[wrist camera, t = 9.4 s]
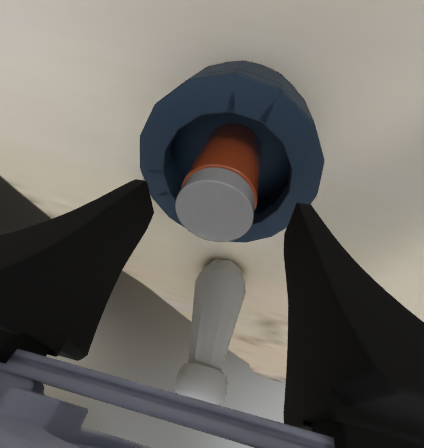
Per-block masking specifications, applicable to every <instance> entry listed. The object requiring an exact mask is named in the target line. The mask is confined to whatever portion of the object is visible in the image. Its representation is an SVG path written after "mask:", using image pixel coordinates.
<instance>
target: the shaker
mask: <svg viewBox="0 0 424 448" xmlns="http://www.w3.org/2000/svg"><path fill="white" fill-rule="evenodd" d="M260 162H261V144H260V141H259V139H258V137H257V135H256V134H255V133H254V132H253V130H251V129H250V128H249V127H247V126H245V125H243V124H239V123H226V124H223V125H220V126H218V127H217V128H215V129H214V130H213V131H212V132H211V133H210V135H209V136H208V138H207V140H206V142H205V143H204V145H203V147H202V149H201V150H200V152H199V154H198V156H197V158H196V159H195V161H194V163H193V165H192V166H191V168H190V170H189V172H188V173H187V175H186V177H185V179H184V181H183V183H182V186H181V190H180V192H179V194H178V196H177V198H176V203H175V208H176V213H177V216H178V218H179V220H180V222H181V223H182V225H183V226H184V227H185V228H186V229H187V230H188V231H190V232H191V233H193V234H194V235H196V236H198V237H200V238H203V239H205V240H209V241H215V242H227V241H232V240H235V239H237V238H239V237H241V236H243V235H244V234H245V233H246V232H247V231H248V230H249V229H250V227H251V225H252V223H253V219H254V211H255V209H256V206H257V197H258V186H259V174H260Z"/></svg>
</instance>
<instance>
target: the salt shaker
mask: <svg viewBox="0 0 424 448" xmlns="http://www.w3.org/2000/svg"><path fill="white" fill-rule="evenodd" d="M245 293H246V291H245V280H244V277H243V274H242V271H241V268H240V267H238V266H237V265H236V264H235V263H233V262H232V261H231V260H224V259H214V260H213V261H212V262H211V263H210V264H208V265H207V266H206V267H205V268H204V269H203V270H202V271H201V272H200V274H199V275H198V277H197V279H196V281H195V292H194V303H193V314H192V325H191V336H190V346H189V358H188V363H187V364H184V365H182V366H181V368H180V369H179V372H178V375H177V378H176V384H175V390H176V392H177V394H180V395H184V396H187V397H191V398H195V399H198V400H202V401H205V402H209V403H212V404H216V405H219V406H221V405H222V404H223V403H224V401H225V397H226V393H227V384H228V382H227V377H226V375H225V374H224V373H223V372H222V371H221V370H222V366H223V363H224V359H225V356H226V353H227V350H228V347H229V343H230V340H231V337H232V334H233V331H234V328H235V324H236V321H237V318H238V315H239V312H240V308H241V305H242V302H243V299H244V296H245Z"/></svg>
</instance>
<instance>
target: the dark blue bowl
mask: <svg viewBox="0 0 424 448" xmlns="http://www.w3.org/2000/svg"><path fill="white" fill-rule="evenodd" d="M226 123H239V124H243V125H245V126H247V127H249V128H250V129H251V130H253V132H254V133H255V134H256V135H257V137H258V139H259V141H260V144H261V162H260V174H259V186H258V197H257V206H256V209H255V211H254V219H253V223H252V225H251V227H250V229H249V230H248V231H247V232H246V233H245V234H244V235H243V236H241V237H239V238H237V239H235V240H232V241H229V242H250V241H254V240H259V239H263V238H267V237H272V235H275V234H277V233H278V232H280V231H282V230H283V229H285V228H287V226H288V224H289V221H290V218H291V216H292V213H293V211H294V208H295V205H296V203H303V204H311V203H312V201H313V200H314V199H315V197H316V195H317V193H318V188H319V184H320V179H321V175H322V170H323V166H324V157H323V153H322V149H321V146H320V142H319V138H318V135H317V131H316V127H315V124H314V121H313V119H312V117H311V114H310V112H309V109H308V107H307V105H306V102H305V100H304V99H303V98H302V96H301V95H300V94H299V93H298V92H297V91H296V89H295V88H294V87H293V85H292V84H291V83H290V82H289V81H288V80H286V79H285V78H284V77H283V76H282V75H281V74H279V72H276V71H274V70H272V69H270V68H268V67H265V66H263V65H260V64H256V63H252V62H247V61H235V62H226V63H222V64H217V65H213V66H209V67H206V68H205V69H203V70H202V71H200V72H199V73H197V74H196V75H194V76H192V77H191V78H189V79H188V80H187V81H185V82H184V83H182V84H181V85H180V86H178V87H177V88H176V89H174V90H173V91H172V92H170V93H169V94H168V95H166V96H165V97H164V98H162V99H161V100H160V101H158V102H157V103H156V104H155V105H154V107H153V109H152V112H151V114H150V116H149V118H148V120H147V122H146V124H145V126H144V129H143V131H142V133H141V135H140V168H141V172H142V175H143V177H144V179H145V181H147V183H148V188H149V192H150V194H151V196H152V198H153V199H154V200H155V201H156V203H157V204H158V205H159V206H160V207H161V208H162V210H163V211H164V212H165V213H166V214H167V215H168V217H170V218H171V219H172V220H174V221H176V222H177V223H179V224H180V225H182V223H181V222H180V220H179V218H178V216H177V213H176V208H175V203H176V198H177V196H178V194H179V192H180V190H181V186H182V183H183V181H184V179H185V177H186V175H187V173H188V172H189V170H190V168H191V166H192V165H193V163H194V161H195V159H196V158H197V156H198V154H199V152H200V150H201V149H202V147H203V145H204V143H205V142H206V140H207V138H208V136H209V135H210V133H211V132H212V131H213V130H214V129H215V128H217V127H218V126H220V125H223V124H226ZM182 226H183V225H182ZM183 227H184V226H183Z"/></svg>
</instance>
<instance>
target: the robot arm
mask: <svg viewBox="0 0 424 448" xmlns="http://www.w3.org/2000/svg"><path fill="white" fill-rule="evenodd" d="M153 214H154V210H153V206H152V201H151V197H150V192H149V188H148V183H147V181H143V180H133V181H131V182H129V183H127V184H125V185H123V186H121V187H119V188H117V189H115V190H113V191H111V192H109V193H108V194H106V195H104V196H102V197H100V198H98V199H96V200H94V201H92V202H90V203H88V204H86V205H84V206H81V207H79V208H77V209H75V210H73V211H71V212H68V213H66V214H63V215H61V216H58V217H56V218H53V219H51V220H48V221H45V222H42V223H39V224H37V225H33V226H30V227H27V228H24V229H21V230H18V231H15V232H11V233H8V234H4V235H0V448H152V447H149V446H146V445H142V444H139V443H136V442H133V441H129V440H125V439H122V438H119V437H116V436H112V435H109V434H106V433H102V432H99V431H95V430H92V429H89V428H85V427H82V424H83V422H84V419H85V418H86V415H87V413H88V409H87V408H84V407H81V406H78V405H74V404H71V403H68V402H65V401H61V400H58V399H55V398H51V397H48V396H45V395H44V385H43V384H46V385H49V386H52V387H56V388H59V389H62V390H66V391H69V392H72V393H76V394H79V395H82V396H85V397H89V398H92V399H95V400H99V401H102V402H105V403H109V404H112V405H115V406H119V407H122V408H125V409H129V410H132V411H135V412H139V413H142V414H145V415H148V416H152V417H155V418H158V419H162V420H165V421H168V422H172V423H175V424H178V425H182V426H185V427H188V428H192V429H195V430H198V431H202V432H205V433H208V434H212V435H215V436H218V437H221V438H225V439H228V440H232V441H235V442H238V443H241V444H245V445H248V446H251V447H254V448H424V322H423V321H421V320H420V319H419V318H417V317H416V316H415V315H414V314H412V313H411V312H410V311H409V310H407V309H406V308H405V307H404V306H403V305H401V304H400V303H399V302H398V301H397V300H396V299H395V298H393V297H392V296H391V295H390V294H389V293H388V292H386V291H385V290H384V289H383V288H382V287H381V286H380V285H379V284H378V283H377V282H375V281H374V280H373V279H372V278H371V277H370V276H369V275H368V274H367V273H366V272H365V271H364V270H363V269H362V268H361V267H360V266H359V265H358V264H357V262H356V261H355V260H354V259H353V258H352V257H351V256H350V255H349V254H348V252H347V251H346V250H345V249H344V248H343V247H342V246H341V244H340V243H339V242H338V241H337V239H336V238H335V237H334V236H333V234H332V233H331V232H330V230H329V229H328V228H327V226H326V225H325V224H324V222H323V221H322V220H321V218H320V217H319V215H318V214H317V213H316V211H315V210H314V208H313V207H312V206H311V205H310V204H303V203H296V205H295V208H294V211H293V213H292V216H291V218H290V221H289V224H288V226H287V229H286V231H285V235H284V261H285V271H286V281H287V291H288V350H287V373H286V388H285V402H284V424H283V423H280V422H276V421H273V420H269V419H266V418H262V417H258V416H255V415H251V414H247V413H244V412H241V411H237V410H233V409H230V408H227V407H223V406H219V405H216V404H212V403H209V402H205V401H202V400H198V399H195V398H191V397H187V396H184V395H180V394H177V393H173V392H170V391H166V390H163V389H159V388H156V387H152V386H148V385H145V384H141V383H138V382H134V381H130V380H127V379H124V378H120V377H116V376H113V375H109V374H106V373H102V372H98V371H95V370H92V369H88V368H84V367H81V366H77V365H74V364H70V363H67V362H63V361H60V360H56V359H52V358H49V357H46V355H47V354H48V355H51V356H55V357H56V356H58V355H59V356H63V357H66V358H70V359H74V360H77V361H78V360H81V359H82V358H84V357H85V356H87V355H88V352H89V349H90V346H91V343H92V340H93V337H94V335H95V332H96V329H97V326H98V324H99V321H100V319H101V316H102V314H103V311H104V308H105V306H106V304H107V301H108V299H109V297H110V295H111V292H112V290H113V288H114V286H115V284H116V282H117V279H118V277H119V275H120V273H121V271H122V269H123V267H124V266H125V264H126V262H127V261H128V259H129V257H130V256H131V254H132V252H133V251H134V249H135V248H136V246H137V244H138V243H139V241H140V240H141V238H142V236H143V235H144V233H145V231H146V230H147V228H148V225H149V223H150V221H151V219H152V216H153Z"/></svg>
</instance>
